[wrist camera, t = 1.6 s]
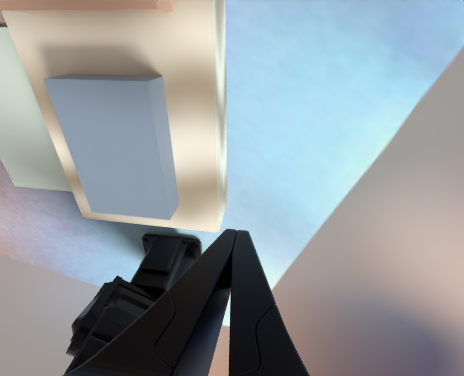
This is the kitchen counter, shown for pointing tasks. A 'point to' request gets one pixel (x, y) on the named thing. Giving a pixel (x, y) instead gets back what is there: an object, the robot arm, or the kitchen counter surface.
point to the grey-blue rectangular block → (118, 141)
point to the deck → (144, 64)
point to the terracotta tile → (86, 6)
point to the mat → (25, 127)
